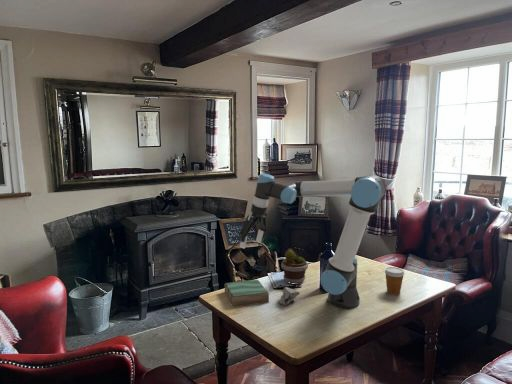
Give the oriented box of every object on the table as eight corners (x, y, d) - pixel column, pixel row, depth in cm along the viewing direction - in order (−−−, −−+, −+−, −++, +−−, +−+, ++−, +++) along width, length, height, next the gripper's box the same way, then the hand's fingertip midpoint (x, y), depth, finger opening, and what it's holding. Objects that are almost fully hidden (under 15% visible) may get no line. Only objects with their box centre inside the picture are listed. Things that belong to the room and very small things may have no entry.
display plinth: (268, 302, 184) (268, 292, 183) (232, 307, 179) (232, 297, 178) (258, 287, 201) (257, 278, 200) (224, 292, 196) (224, 282, 195)
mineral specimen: (283, 309, 187) (297, 311, 179) (272, 301, 184) (286, 302, 176) (290, 291, 192) (304, 292, 184) (280, 283, 188) (293, 284, 181)
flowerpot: (296, 274, 220) (296, 241, 217) (313, 282, 207) (314, 247, 204) (275, 279, 213) (275, 244, 210) (292, 288, 200) (292, 252, 197)
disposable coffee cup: (393, 297, 188) (394, 274, 187) (379, 290, 197) (380, 268, 195) (407, 294, 192) (408, 271, 190) (393, 287, 201) (394, 265, 199)
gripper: (268, 199, 196) (259, 237, 201) (238, 205, 176) (228, 246, 181) (279, 204, 192) (270, 242, 197) (250, 211, 172) (240, 253, 177)
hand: (250, 244), depth 189 cm, fingers open, 13 cm apart
